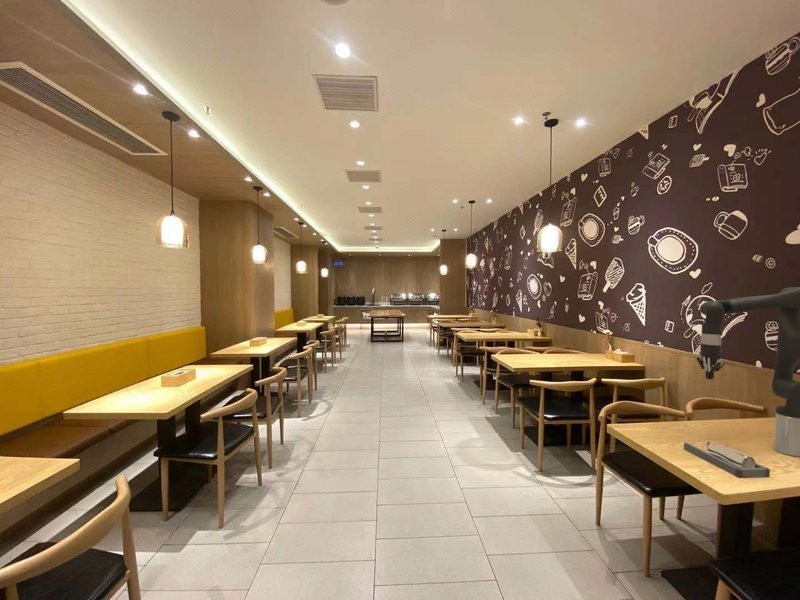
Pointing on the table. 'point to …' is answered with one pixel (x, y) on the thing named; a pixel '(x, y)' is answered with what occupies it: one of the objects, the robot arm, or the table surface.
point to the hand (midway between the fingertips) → (709, 379)
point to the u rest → (739, 472)
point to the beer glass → (731, 456)
